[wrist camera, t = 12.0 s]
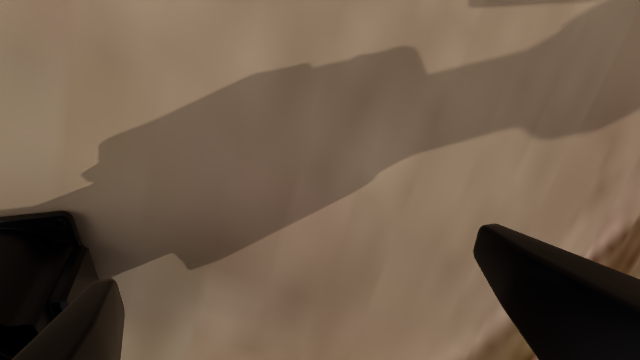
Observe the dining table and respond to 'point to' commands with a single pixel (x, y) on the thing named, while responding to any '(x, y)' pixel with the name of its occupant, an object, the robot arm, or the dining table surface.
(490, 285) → the robot arm
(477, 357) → the dining table surface
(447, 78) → the dining table surface
